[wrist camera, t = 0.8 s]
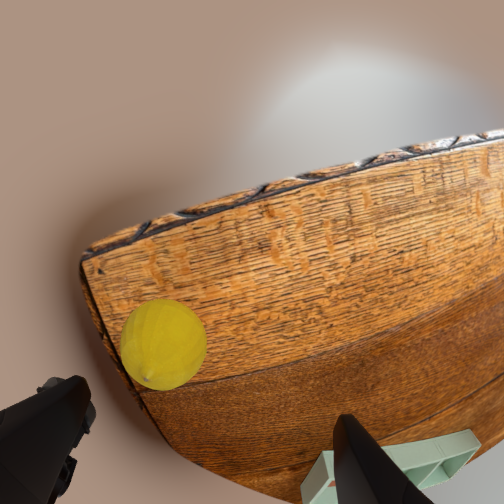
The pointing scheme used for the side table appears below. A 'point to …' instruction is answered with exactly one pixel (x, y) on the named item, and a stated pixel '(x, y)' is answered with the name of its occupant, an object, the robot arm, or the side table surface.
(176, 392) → the side table surface
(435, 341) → the side table surface
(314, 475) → the compartment tray
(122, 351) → the fruit
